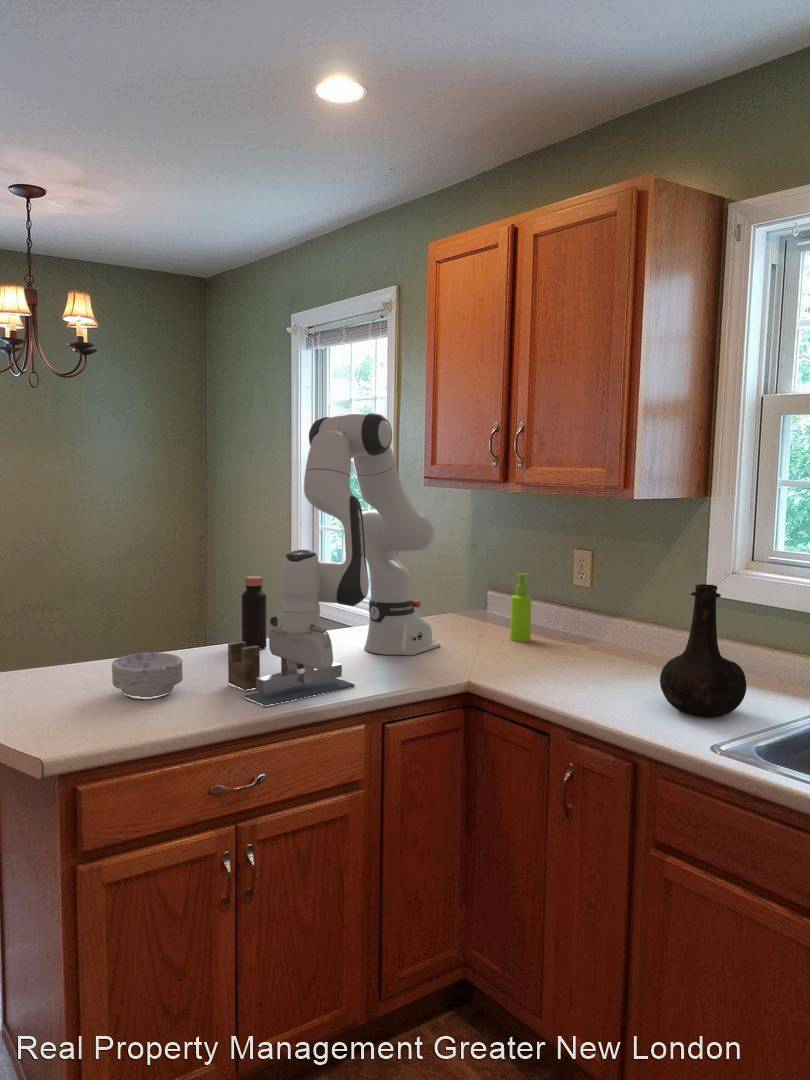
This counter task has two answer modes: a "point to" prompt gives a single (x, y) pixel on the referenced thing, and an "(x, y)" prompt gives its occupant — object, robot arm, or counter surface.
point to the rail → (295, 678)
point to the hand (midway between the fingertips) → (300, 680)
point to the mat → (299, 691)
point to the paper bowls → (147, 673)
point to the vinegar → (254, 612)
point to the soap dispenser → (521, 611)
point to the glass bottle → (703, 666)
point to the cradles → (247, 665)
